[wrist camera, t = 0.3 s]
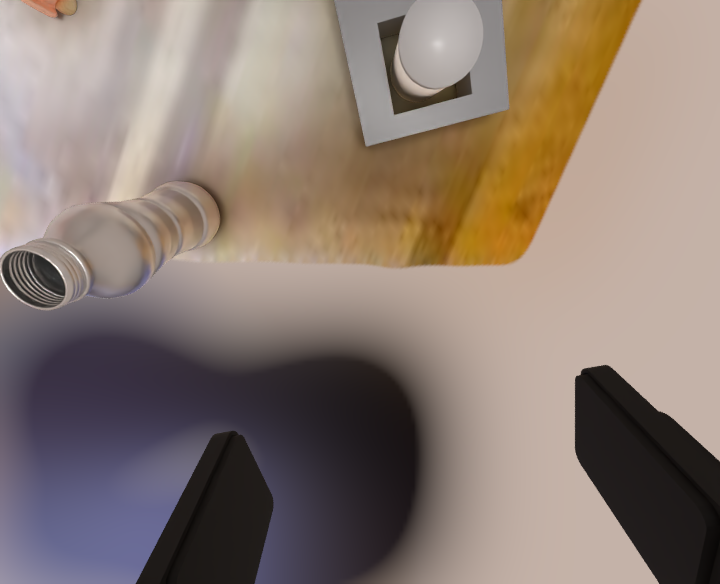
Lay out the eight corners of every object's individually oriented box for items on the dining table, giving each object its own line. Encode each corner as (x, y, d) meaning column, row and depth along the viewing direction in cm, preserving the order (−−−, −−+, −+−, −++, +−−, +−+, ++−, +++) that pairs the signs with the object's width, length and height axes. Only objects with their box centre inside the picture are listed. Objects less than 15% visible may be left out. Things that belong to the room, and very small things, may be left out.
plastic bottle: (200, 166, 36) (26, 195, 17) (239, 225, 38) (121, 305, 20) (151, 196, 37) (-61, 252, 19) (191, 252, 39) (38, 350, 21)
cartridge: (383, 46, 32) (391, 2, 21) (441, 29, 31) (478, -25, 21) (395, 109, 34) (407, 97, 23) (450, 94, 33) (487, 75, 23)
